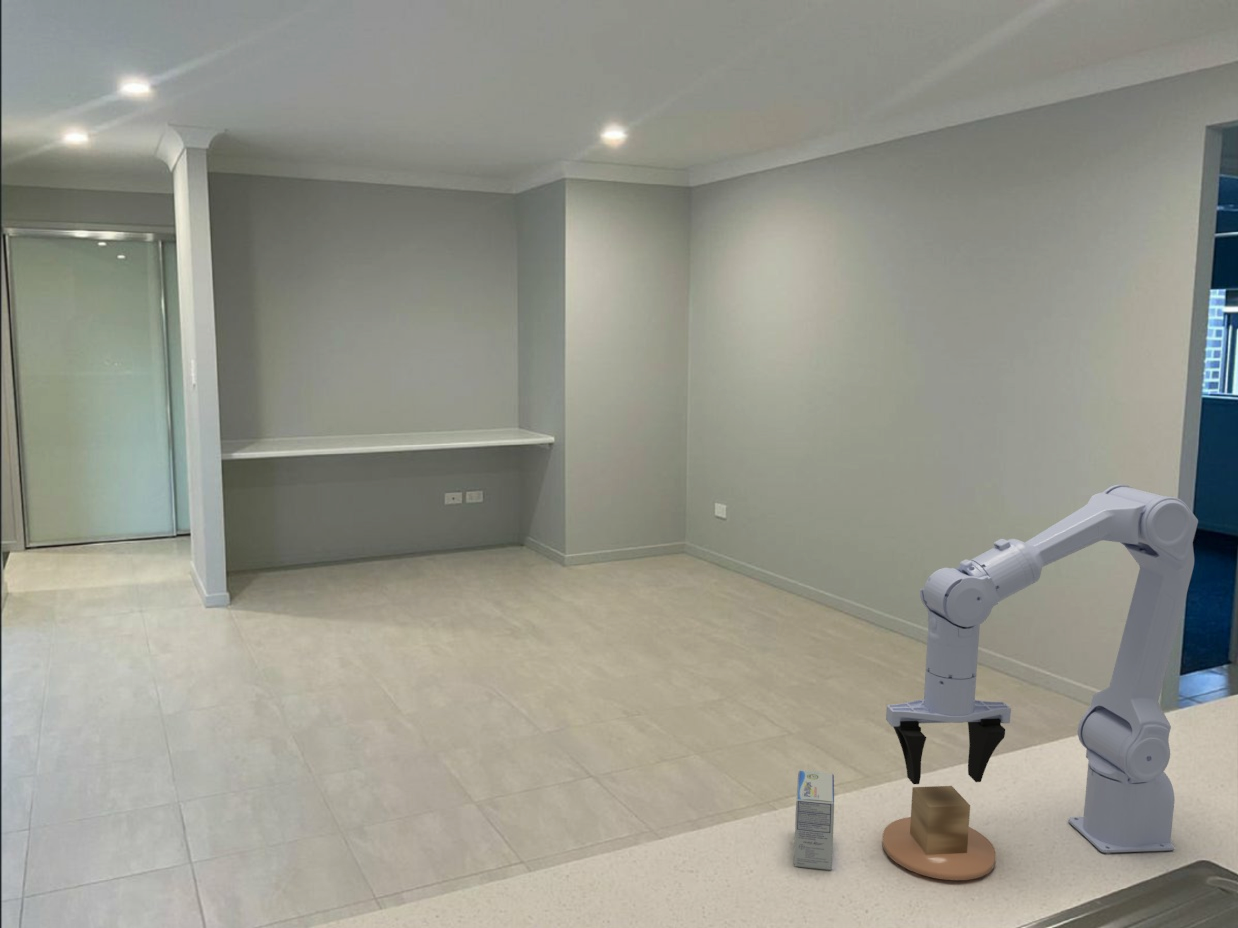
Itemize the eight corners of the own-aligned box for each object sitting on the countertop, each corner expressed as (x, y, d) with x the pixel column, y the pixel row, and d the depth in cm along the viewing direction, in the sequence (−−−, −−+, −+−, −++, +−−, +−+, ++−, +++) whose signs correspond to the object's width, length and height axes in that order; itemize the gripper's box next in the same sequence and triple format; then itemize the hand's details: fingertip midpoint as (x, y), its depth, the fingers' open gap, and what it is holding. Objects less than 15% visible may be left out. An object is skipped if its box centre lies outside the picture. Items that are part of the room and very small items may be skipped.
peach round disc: (965, 824, 127) (966, 814, 127) (1015, 881, 114) (1016, 870, 114) (867, 828, 126) (867, 817, 126) (905, 886, 113) (906, 874, 113)
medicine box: (831, 872, 116) (835, 802, 115) (793, 867, 117) (796, 798, 116) (831, 837, 124) (834, 772, 122) (795, 833, 125) (797, 768, 123)
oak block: (948, 831, 123) (951, 785, 122) (966, 852, 118) (970, 805, 117) (909, 832, 122) (912, 787, 121) (926, 854, 117) (929, 806, 117)
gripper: (994, 657, 122) (986, 762, 124) (879, 660, 121) (873, 766, 123) (1022, 678, 115) (1014, 789, 117) (901, 681, 114) (894, 793, 116)
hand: (944, 779), depth 119 cm, fingers open, 7 cm apart
